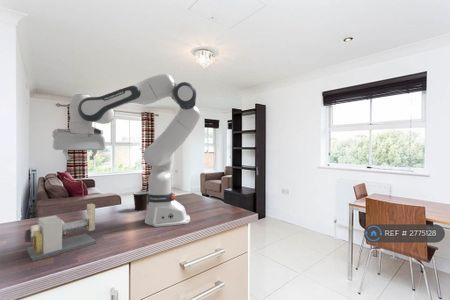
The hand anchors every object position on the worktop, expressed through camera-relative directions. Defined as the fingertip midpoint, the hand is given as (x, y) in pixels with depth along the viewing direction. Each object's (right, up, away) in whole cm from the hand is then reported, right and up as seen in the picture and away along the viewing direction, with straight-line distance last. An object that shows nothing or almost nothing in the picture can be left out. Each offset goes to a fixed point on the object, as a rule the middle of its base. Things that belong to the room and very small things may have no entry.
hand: (80, 160), depth 101 cm
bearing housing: (+7, -31, -20) cm, 38 cm away
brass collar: (+2, -30, -26) cm, 40 cm away
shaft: (+9, -27, -18) cm, 34 cm away
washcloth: (-10, -32, -6) cm, 34 cm away
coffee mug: (+16, -32, +30) cm, 46 cm away
